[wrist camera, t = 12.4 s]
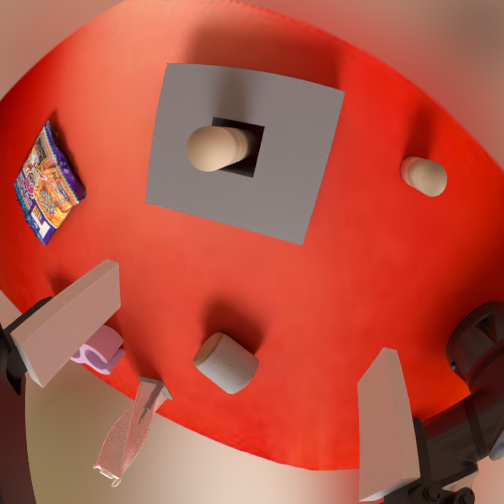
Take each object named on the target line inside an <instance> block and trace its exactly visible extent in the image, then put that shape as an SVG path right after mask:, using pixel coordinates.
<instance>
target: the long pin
mask: <svg viewBox="0 0 504 504" xmlns="http://www.w3.org/2000/svg"><path fill="white" fill-rule="evenodd" d="M258 145H259V143H258V138H257V136H256V135H255V134H254V133H253V132H252V131H250V130H248V129H240V128H229V127H216V126H204V127H201V128H199V129H197V130H195V131H194V132H193V133H192V134H191V136H190V137H189V139H188V142H187V146H186V152H187V156H188V159H189V161H190V162H191V164H192V165H193V166H194V167H196V168H197V169H199V170H201V171H206V172H210V171H215V170H217V169H220V168H222V167H225V166H228V165H230V164H233V163H235V162H238V161H241V160H243V159H246V158H249V157H251V156H253V155H254V154H255V153H256V151H257V149H258Z"/></svg>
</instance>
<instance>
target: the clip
mask: <svg viewBox="0 0 504 504" xmlns="http://www.w3.org/2000/svg"><path fill="white" fill-rule="evenodd" d="M123 342H124V340H123V338H122V337H121V336H120V335H119V334H118V333H117V332H116V331H115V330H114V329H112V328H110V327H108V326H106V325H102V326H101V327H100V328H99V329H98V330H97V331H96V332H95V333H94V334H93V335H92V336H91V337H90V338H89V339H88V340H87V341H86V342H85V343H84V344H83V345H82V346H81V348H80V349H79V350H78V351H77V352H76V353H75V354H74V355H73V356H72V357H71V358H70V359H71V360H73V361H75V362H77V363H86V364H88V365H90V366H91V367H92V368H93V369H95V370H96V371H98V372H100V373H102V374H106V375H108V374H110V373H111V371H112V370H113V369H114V367H115V366H116V365H117V363H118V362H119V361H120V359H121V358H122V357H123V355H124V354H125V351H124V350H123V349H119V350H118V348H119V347H120V346H121V345H122V343H123Z"/></svg>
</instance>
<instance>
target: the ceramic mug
mask: <svg viewBox="0 0 504 504" xmlns="http://www.w3.org/2000/svg"><path fill="white" fill-rule="evenodd" d="M258 363H259V361H258V358H257V357H256V356H254V355H253V354H251V353H250V352H249V351H247V350H246V349H245V348H243V347H242V346H241V345H239V344H238V343H237V342H235V341H234V340H233V339H232V338H230V337H229V336H227V335H226V334H224V333H221V332H217V333H215V334H213V335H212V336H211V337H209V338H208V339H207V340H206V341H205V343H204V344H203V345H202V346H201V347H200V349H199V350H198V352H197V353H196V355H195V357H194V364H195V366H196V367H197V368H198V369H199V370H200V371H201V372H202V373H203V374H204V375H206V376H207V377H208V378H210V379H211V380H212V381H213V382H215V383H216V384H217V385H218V386H219V387H221V388H222V389H223V390H225V391H226V392H227V393H229V394H234V393H236V392H238V391H240V390H241V389H243V388H244V387H245V386H246V385H247V384H248V383H249V382H250V380H251V379H252V378H253V376H254V374H255V372H256V370H257V368H258Z"/></svg>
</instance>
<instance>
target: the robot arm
mask: <svg viewBox="0 0 504 504" xmlns="http://www.w3.org/2000/svg"><path fill="white" fill-rule="evenodd" d="M120 307H121V301H120V284H119V263H117V262H115V261H112V260H110V259H106V260H104V261H103V262H102V263H100V264H99V265H97V266H96V267H94V268H93V269H92V270H90V271H89V272H87V273H86V274H85V275H83V276H82V277H81V278H79V279H78V280H76V281H75V282H74V283H72V284H71V285H70V286H68V287H67V288H66V289H64V290H63V291H62V292H60V293H59V294H58V295H57V296H55V297H54V298H52V297H51V296H50V297H47V298H44V299H42V300H40V301H39V302H37V303H36V304H35V305H34V306H33V307H31V308H30V309H28V310H27V312H25V313H23V314H22V315H21V316H20V317H19V318H17V319H16V320H15V321H14V322H13V323H11V324H10V325H9V326H8V327H7V328H5V329H4V330H3V329H2V326H1V324H0V504H36V501H35V496H34V491H33V486H32V481H31V475H30V469H29V462H28V453H27V443H26V428H25V385H26V377H25V372H26V371H27V370H28V372H29V374H30V376H31V377H32V379H33V380H34V381H35V382H36V383H38V384H39V385H40V386H41V387H42V388H44V387H45V385H46V384H47V383H48V382H49V381H50V380H51V379H52V378H53V377H54V375H55V374H56V373H57V372H58V371H59V370H60V369H61V368H62V367H63V366H64V365H65V363H66V362H67V361H68V360H69V359H70V358H71V357H72V356H73V355H74V354H75V353H76V352H77V351H78V350H79V349H80V348H81V346H82V345H83V344H84V343H85V342H86V341H87V340H88V339H89V338H90V337H91V336H92V335H93V334H94V333H95V332H96V331H97V330H98V329H99V328H100V327H101V326H102V325H103V324H104V323H105V322H106V321H107V320H108V319H109V318H110V317H111V316H112V315H113V314H114V313H115V312H116V311H117V310H118V309H119V308H120ZM446 358H447V361H448V363H449V366H450V368H451V369H452V371H454V372H455V373H456V374H457V375H458V376H459V377H460V378H461V379H462V380H463V381H464V382H465V383H466V384H467V385H468V387H469V390H470V392H471V395H469V396H468V397H466V398H464V399H463V400H461V401H459V402H458V403H456V404H454V405H453V406H451V407H449V408H447V409H446V410H444V411H442V412H440V413H438V414H436V415H434V416H433V417H431V418H429V419H427V420H425V421H420V419H419V418H416V417H412V414H411V409H410V404H409V399H408V395H407V390H406V386H405V381H404V377H403V373H402V369H401V365H400V361H399V357H398V353H397V350H394V349H389V348H385V347H383V349H382V350H381V352H380V353H379V355H378V356H377V357H376V359H375V360H374V362H373V363H372V364H371V366H370V367H369V369H368V370H367V371H366V373H365V374H364V375H363V377H362V378H361V379H360V381H359V382H358V383H357V388H358V404H359V425H360V484H359V501H375V500H377V499H380V498H382V497H384V502H382V503H380V504H474V501H475V496H474V493H473V491H472V488H471V486H472V483H473V481H474V479H475V478H476V476H477V474H478V472H479V470H478V465H477V462H478V461H480V460H481V459H483V458H485V457H487V456H488V455H489V458H490V459H491V460H493V461H495V460H498V459H500V458H501V457H503V456H504V304H502V303H499V302H493V303H489V304H486V305H483V306H481V307H480V308H478V309H476V310H475V311H473V312H472V313H471V314H470V315H468V316H467V317H466V318H465V319H464V320H463V321H462V322H461V323H460V324H459V326H458V327H457V328H456V330H455V331H454V332H453V334H452V336H451V337H450V339H449V342H448V344H447V348H446Z"/></svg>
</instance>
